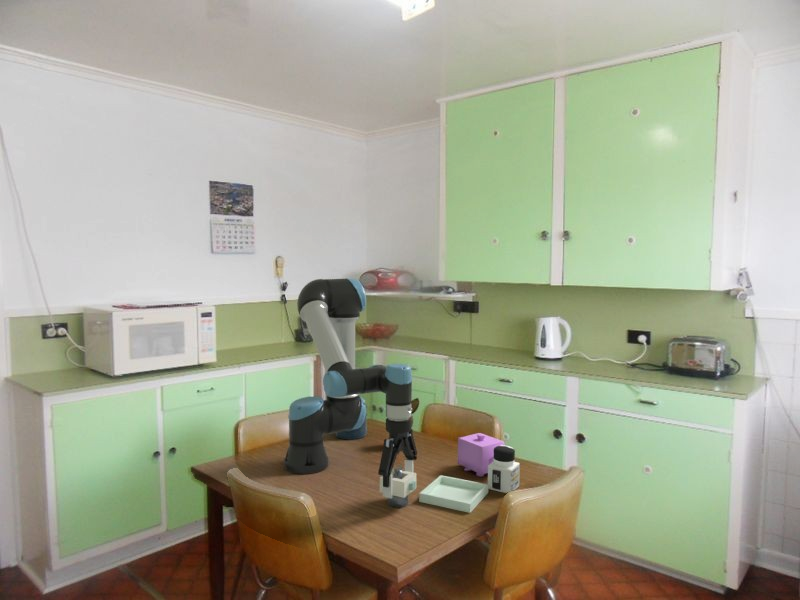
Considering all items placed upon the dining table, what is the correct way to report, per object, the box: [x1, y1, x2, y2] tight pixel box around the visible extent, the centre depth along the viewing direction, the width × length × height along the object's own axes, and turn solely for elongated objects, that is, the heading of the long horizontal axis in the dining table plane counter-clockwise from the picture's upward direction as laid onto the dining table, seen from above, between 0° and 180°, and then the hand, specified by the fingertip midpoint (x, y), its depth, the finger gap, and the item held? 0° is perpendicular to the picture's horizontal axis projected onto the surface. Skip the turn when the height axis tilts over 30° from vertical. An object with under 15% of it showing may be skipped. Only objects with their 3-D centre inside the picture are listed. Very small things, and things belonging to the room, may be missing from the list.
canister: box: [335, 399, 368, 440], centre depth 234 cm, size 13×13×18 cm
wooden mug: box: [387, 397, 420, 452], centre depth 221 cm, size 9×14×18 cm, turn 122°
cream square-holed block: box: [379, 468, 417, 498], centre depth 169 cm, size 9×8×4 cm
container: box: [487, 444, 521, 494], centre depth 181 cm, size 8×8×13 cm
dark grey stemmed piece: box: [387, 465, 409, 509], centre depth 169 cm, size 6×6×11 cm
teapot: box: [457, 432, 505, 478], centre depth 195 cm, size 20×10×12 cm, turn 35°
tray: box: [418, 474, 489, 514], centre depth 174 cm, size 16×16×3 cm
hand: (398, 488), depth 169 cm, fingers open, 13 cm apart
